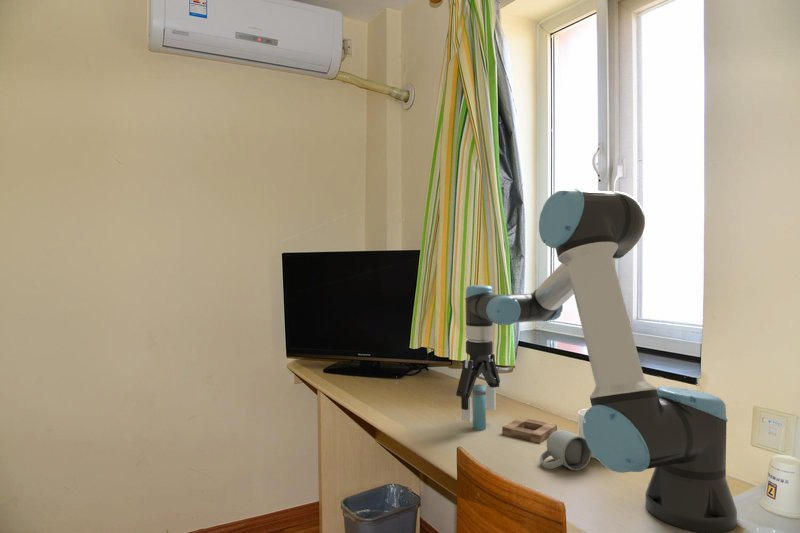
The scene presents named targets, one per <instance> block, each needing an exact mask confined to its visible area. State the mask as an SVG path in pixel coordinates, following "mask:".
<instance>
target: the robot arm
mask: <svg viewBox="0 0 800 533" xmlns="http://www.w3.org/2000/svg"><path fill="white" fill-rule="evenodd" d="M538 220H539V221H538V233H539V237H540V239H541V242H542V243H543V244H544V245H545V246H547V247H549V248H550V249H551V248H552V249H555V251H556V255H557V260H558V262H560V265H558V267H556V269H555V270H554V271H553V272H551V274H550V275H549V276H548V277H547V278H545V280H544V281H542V283H541V284H540V285H538V287H537V288H536V289H535V290H534V291H533V292H531V293H520V294H517V293H516V294H515V293H514V294H494V292H493V291H494V290H493V288H492V286H491V285H485V284H483V285H481V284H479V285H477V284H475V285H474V284H473V285H468V286H467V287H466V289H465V298H464V300H465V338H466V339H467V340H466V341H465V353H466V355H469V359H468V360H467V359H466V360H465V359H464V360H462V369H461V374H460V377H459V381H458V384H457V389H456V392H455V395H456V396H457V397H460V399H461V401H460V402H461V404H460V405H461V407H460V408H461V421H463V422H469V423H471V422H473V397H471V394H472V393H473V391H472V389H473V386H474V385H476V381H477V378H478V377H480V375H481V374H482V375H483V378H484V380H485V382H486V384H487V386H486V409H487V410H492V411H496V409H497V407H496V406H497V405H496V404H497V401H496V400H497V398H496V397H497V396H496V395H497V392H496V391H497V390H496V389H497V388H499V387H500V383H501V380H500V376H499V370H498V367H497V365H496V364H497V363H496V358H495V354H493V350H494V349H493V347H494V346H493V344H494V343H493V341H492V340H493V338H494V335H493V334H494V333H493V329H494V328H493V327H494V326H493V324H496V325H499V326H502V325H504V326H510V325H513V324H514V323H528V322H530V323H531V322H549V321H555V320H557V319H559V318H560V317H561V315H562V312H563V308H564V307H563V306H564V304H565V303H566V302H567V301H568V300H569V299H571V297H572V296H573V295H574V299H575V303H576V304H575V305H576V307H577V311H578V312H577V313H578V316H579V319H580V325H581V328H582V329H581V330H582V333H583V337H584V338H583V339H584V341H585V346H586V351H587V355H588V359H589V362H590V368H591V372H592V376H593V381H594V385H595V386H594V387H595V388H594V389H593V391H592V393H591V394H590V396H589V400H590V405H591V407H589V408H588V409H589V410H587V412H586V413H585V415H584V419H585V420H584V421H583V433H584V437H585V440H586V442H587V445H588V447H589V449H590V450H591V452H592V454H593V455H594V456H595V458H594V459H596V460H597V461H599V462H600V463H601V465H603V467H605V468H606V469H608V470H610V471H613V472H614V473H615V472H616V473H619V474H621V473H622V474H626V473H641V472H644V471H646V470H651V469H653V472H652V475H651V477H650V479H649V482H648V486H647V489H646V490H645V495H644V496H645V501H644V503H645V507H646V509H647V510H648V512H649V513H650V514H651V515H653V516H654V517H656V518H657V519H658V520H660V521H662V522H664V523H667V524H669V525H671V526H673V527H677V528H680V529H683V530H688V531H693V532H698V533H724V532H728V531H731V530H734V528H736V526H737V525H738V523H737V522H738V510H737V507H736V505H735V502H734V498H733V496H732V495H733V494H732V492H731V490H730V487H729V484H728V481H727V474H726V473H727V472H726V471H727V422H728V418H727V408H726V404H725V402H724V401H723V399H721V398H720V397H718V396H716V395H713V394H711V393H708V392H704V391H699V390H694V389H688V388H683V387H676V386H675V387H674V386H664V385H663V386H658V387H656V386H655V385H653V384H651V383H650V382H648V381H647V380H646V379H645V376H644V372H643V369H642V364H641V361H640V357H639V353H638V349H637V346H636V342H635V338H634V334H633V330H632V327H631V323H630V319H629V315H628V312H627V308H626V303H625V301H624V297H623V293H622V292H623V291H622V288H621V285H620V281H619V278H618V274H617V270H616V266H615V262H614V260H620V259H621V258H623V257H624V256H626V255H627V254H628V253H629V252H630V251H631V250H632V249H633V248H635V246H636V245H637V244H638V242H639V241H640V239H641V238H642V235H643V234H644V230H645V226H646V217H645V212H644V210H643V208H642V206H641V205H640V203H639V202H638V201H637V200H636V199H635V198H634V197H633V196H631V195H629V194H627V193H626V192H621V191H615V190H614V191H613V190H612V191H607V190H606V191H605V190H603V191H602V190H586V189H584V190H583V189H578V188H573V189H560V190H558V191H555V192H554V193H552V194H551V195H550V196H549V197H548V198H547V200H546V201H545V203H544V204H543V206H542V209H541V212H540V215H539V219H538Z"/></svg>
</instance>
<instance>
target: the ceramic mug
mask: <svg viewBox="0 0 800 533" xmlns="http://www.w3.org/2000/svg"><path fill="white" fill-rule="evenodd" d="M549 457H551V458H553V459H554V460H553V461H550V462H545V460H546V459H547V458H549ZM590 461H591V450H590V449H589V447H588V445H587V442H586V440H585V438H584V437H582V436H579V434H576V433H573V432H570V431H568V430H565V429H557V430H556V431H554V432H553V433H551V434H550V436H549V437H548V438H547V439H546V450H545V451H543V453H541V455H540V456H539V462H540V464H541V466H542V467H543V468H545V469H549V470H551V469H552V470H553V469H556V468H558V467H561V466H564V467H566V468H568V469H569V470H571V471H580V470H583V469H584V468H586V466H588V464H589V463H590Z"/></svg>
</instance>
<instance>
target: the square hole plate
mask: <svg viewBox="0 0 800 533" xmlns="http://www.w3.org/2000/svg"><path fill="white" fill-rule="evenodd" d="M556 430H558V425H557V424H555V423H550V422H545V421H540V420H536V419H530V418H525V417H521V416H519V417H518V418H516V419H515V420H512V421H511V422H508V423H507V424H505V425H503V426H502V430H501V431H502V432H501V433H502V436H503V435H504V436H508V437H512V438H517V439H521V440H525V441H531V442H534V443H537V444H541V443H542V442H544V441H547V440H548V437H549V436H550V434H551V433H553V432H554V431H556Z"/></svg>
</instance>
